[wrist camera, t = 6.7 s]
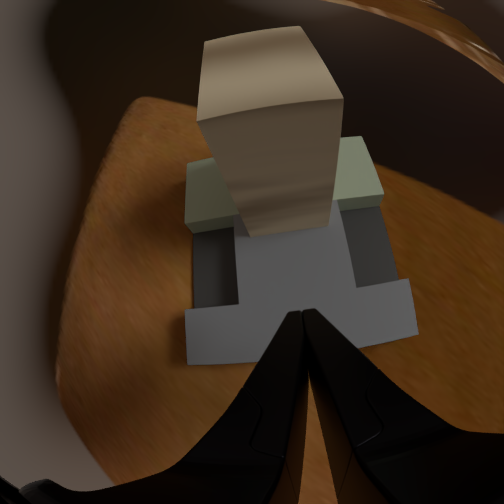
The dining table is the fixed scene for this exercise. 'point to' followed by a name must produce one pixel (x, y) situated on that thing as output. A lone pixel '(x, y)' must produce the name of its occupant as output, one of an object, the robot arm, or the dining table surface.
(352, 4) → the dining table surface
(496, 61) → the dining table surface
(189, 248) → the dining table surface
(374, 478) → the robot arm
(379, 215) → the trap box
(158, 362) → the dining table surface
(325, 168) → the maple block
